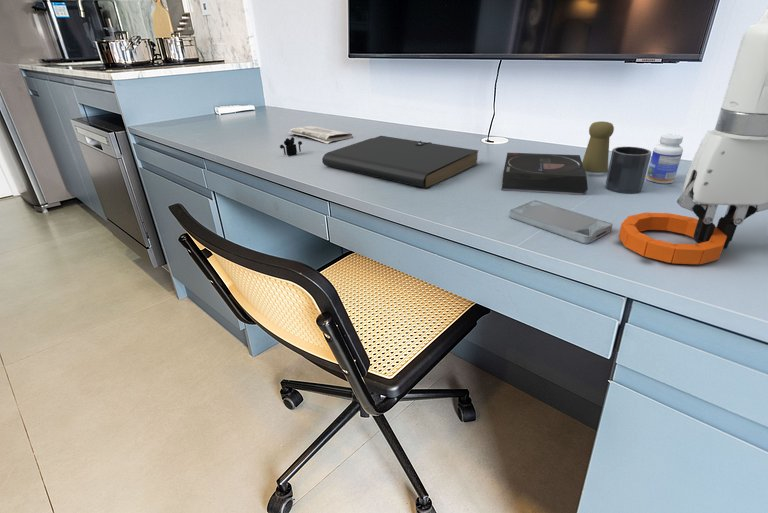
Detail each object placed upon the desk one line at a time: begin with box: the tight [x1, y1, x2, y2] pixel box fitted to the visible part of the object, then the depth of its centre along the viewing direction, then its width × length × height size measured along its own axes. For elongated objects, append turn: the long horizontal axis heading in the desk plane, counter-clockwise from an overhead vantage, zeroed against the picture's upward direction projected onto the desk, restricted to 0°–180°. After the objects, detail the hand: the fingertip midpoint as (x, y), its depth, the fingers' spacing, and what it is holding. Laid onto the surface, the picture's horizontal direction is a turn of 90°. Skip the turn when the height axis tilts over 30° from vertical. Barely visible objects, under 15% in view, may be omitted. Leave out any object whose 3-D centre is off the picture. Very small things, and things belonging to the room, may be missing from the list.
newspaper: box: [287, 125, 353, 145], centre depth 150 cm, size 23×12×2 cm, turn 43°
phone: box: [509, 200, 613, 245], centre depth 78 cm, size 8×16×1 cm, turn 37°
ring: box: [618, 212, 727, 265], centre depth 68 cm, size 14×14×2 cm
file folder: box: [322, 135, 479, 189], centre depth 113 cm, size 33×4×24 cm
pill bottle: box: [646, 133, 684, 184], centre depth 94 cm, size 5×5×10 cm
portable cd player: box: [501, 152, 588, 196], centre depth 98 cm, size 16×17×4 cm
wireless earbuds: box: [279, 136, 303, 157], centre depth 128 cm, size 7×2×5 cm, turn 126°
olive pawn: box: [582, 121, 615, 173], centre depth 103 cm, size 6×6×11 cm
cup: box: [604, 146, 652, 194], centre depth 91 cm, size 7×7×8 cm
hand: (710, 243), depth 68 cm, fingers closed on ring, 2 cm apart
